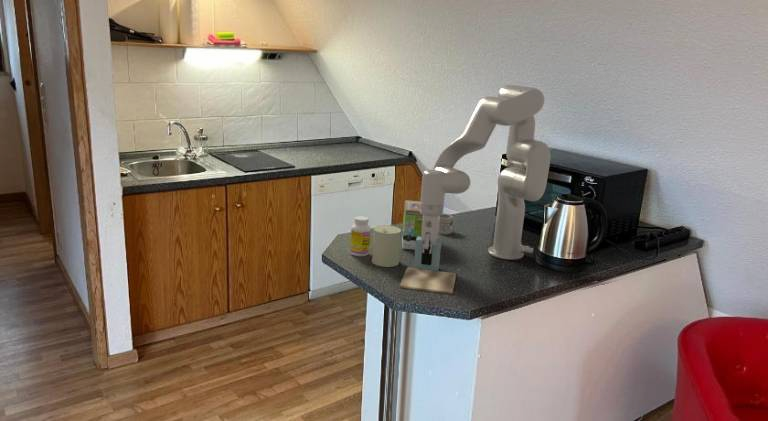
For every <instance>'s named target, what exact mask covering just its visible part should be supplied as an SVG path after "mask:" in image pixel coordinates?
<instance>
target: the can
mask: <svg viewBox="0 0 768 421" xmlns="http://www.w3.org/2000/svg"><path fill="white" fill-rule="evenodd" d="M401 238H402V229H401V228H399V227H398V226H393V225H376V226H375V227H374V228H373V241H372V242H373V243H372V256H371V258H372V259H371V263H372V264H373V265H376V266H378V267H384V268H390V267H391V268H392V267H396V266H398V265H399V263H400V246H401Z"/></svg>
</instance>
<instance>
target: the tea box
mask: <svg viewBox="0 0 768 421" xmlns="http://www.w3.org/2000/svg"><path fill="white" fill-rule="evenodd" d="M420 201H421V200H420ZM420 201H419V200H406V199H405V200H404V206H403V207H404V208H403V216H402V218H403V220H402V229H401V248H402V249H403V250H414V251H415V245H416V238H417V236H418V237H421V232H422V219H423V214H421V213H420Z"/></svg>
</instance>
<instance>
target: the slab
mask: <svg viewBox="0 0 768 421" xmlns="http://www.w3.org/2000/svg"><path fill="white" fill-rule="evenodd" d="M429 244H431V243H430V242H429ZM429 247H430V246H429ZM441 248H442V238H438V240H437V244H436V245H435V246H434V245H432V251H431V253H432V260H431V265H424V264H421V260H422V252H423V244H422V243H421V237H418V236H417V238H416V245H415V250H414V258H413V259H414V261H413V268H417V269H425V270H433V271H439V269H440V261H441V250H442V249H441Z"/></svg>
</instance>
